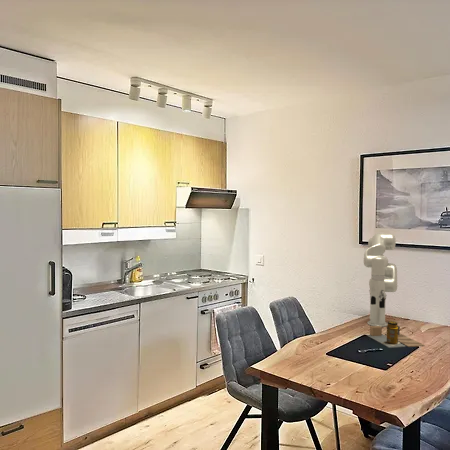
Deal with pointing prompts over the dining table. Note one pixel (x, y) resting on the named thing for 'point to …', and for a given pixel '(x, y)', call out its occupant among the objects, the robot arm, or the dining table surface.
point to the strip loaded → (380, 336)
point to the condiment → (392, 334)
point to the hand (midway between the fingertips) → (377, 306)
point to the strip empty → (407, 340)
